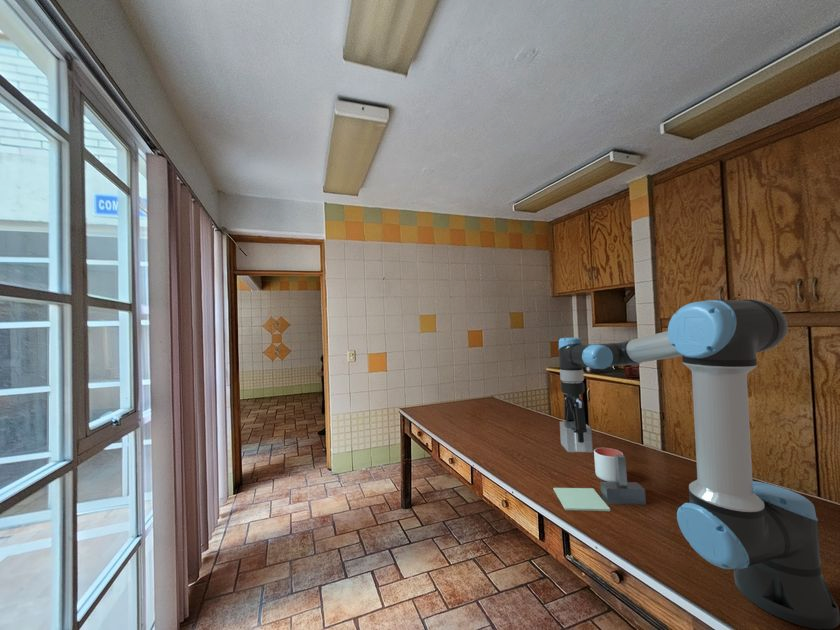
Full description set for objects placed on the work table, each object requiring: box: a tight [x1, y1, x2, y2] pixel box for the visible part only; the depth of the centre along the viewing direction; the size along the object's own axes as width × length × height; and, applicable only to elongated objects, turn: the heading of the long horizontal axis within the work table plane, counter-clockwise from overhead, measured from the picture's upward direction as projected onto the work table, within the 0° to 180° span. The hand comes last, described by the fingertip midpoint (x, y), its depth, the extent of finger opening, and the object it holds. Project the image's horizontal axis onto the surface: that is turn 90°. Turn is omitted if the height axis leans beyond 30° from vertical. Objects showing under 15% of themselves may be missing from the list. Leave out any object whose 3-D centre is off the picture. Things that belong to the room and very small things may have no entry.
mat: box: [553, 487, 611, 512], centre depth 114 cm, size 14×14×1 cm
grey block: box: [599, 454, 647, 506], centre depth 112 cm, size 5×12×15 cm, turn 83°
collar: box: [559, 420, 594, 453], centre depth 115 cm, size 8×8×8 cm
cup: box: [593, 447, 624, 482], centre depth 129 cm, size 10×10×10 cm
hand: (576, 446), depth 115 cm, fingers closed on collar, 8 cm apart
